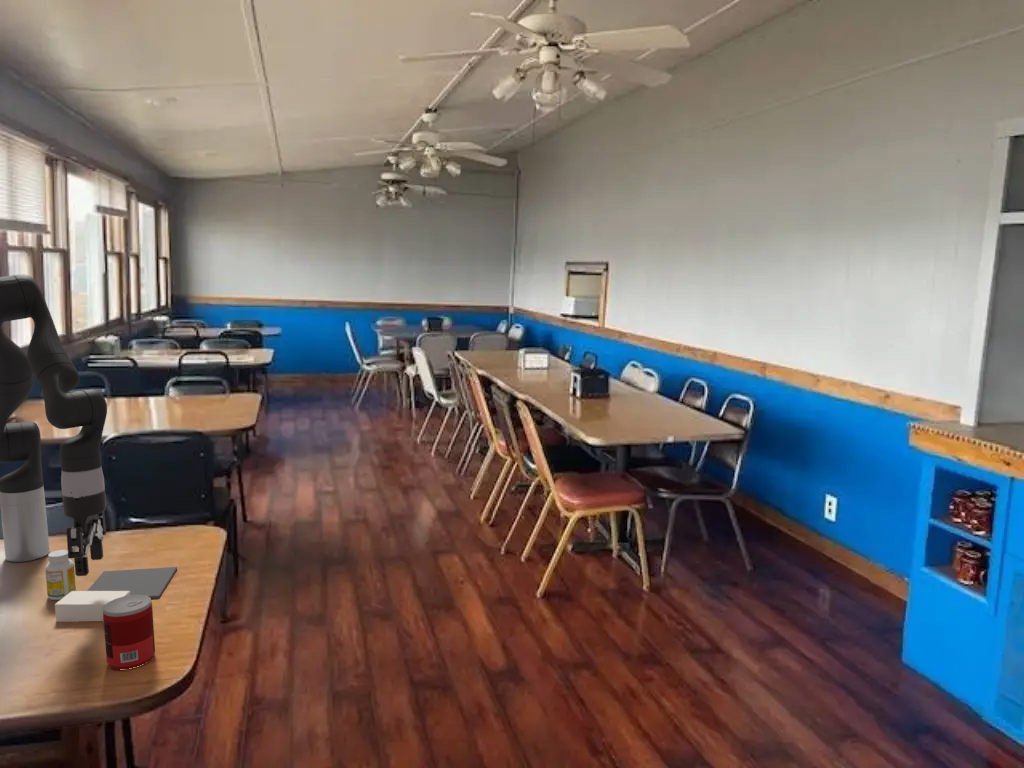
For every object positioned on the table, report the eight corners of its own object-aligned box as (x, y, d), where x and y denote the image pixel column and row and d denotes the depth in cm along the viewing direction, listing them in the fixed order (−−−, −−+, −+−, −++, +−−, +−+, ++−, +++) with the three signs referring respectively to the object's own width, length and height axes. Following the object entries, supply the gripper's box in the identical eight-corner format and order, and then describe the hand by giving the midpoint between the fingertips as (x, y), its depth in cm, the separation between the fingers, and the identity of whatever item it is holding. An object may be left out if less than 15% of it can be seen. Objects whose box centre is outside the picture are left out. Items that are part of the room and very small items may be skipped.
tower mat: (103, 573, 179) (103, 571, 179) (177, 569, 182) (176, 566, 182) (78, 603, 164) (78, 600, 164) (159, 598, 167) (158, 595, 166)
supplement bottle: (53, 602, 164) (49, 559, 162) (43, 595, 167) (39, 553, 166) (80, 594, 168) (76, 552, 166) (70, 588, 171) (67, 546, 170)
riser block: (73, 608, 162) (72, 590, 161) (131, 609, 162) (129, 591, 161) (56, 623, 156) (54, 604, 155) (116, 623, 156) (114, 604, 155)
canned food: (164, 655, 143) (161, 598, 141) (127, 675, 136) (122, 616, 134) (135, 646, 146) (131, 591, 144) (97, 665, 139) (92, 608, 137)
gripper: (76, 481, 161) (82, 555, 163) (48, 501, 147) (55, 582, 149) (115, 479, 162) (120, 553, 165) (91, 499, 148) (97, 579, 151)
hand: (89, 567), depth 157 cm, fingers open, 8 cm apart
